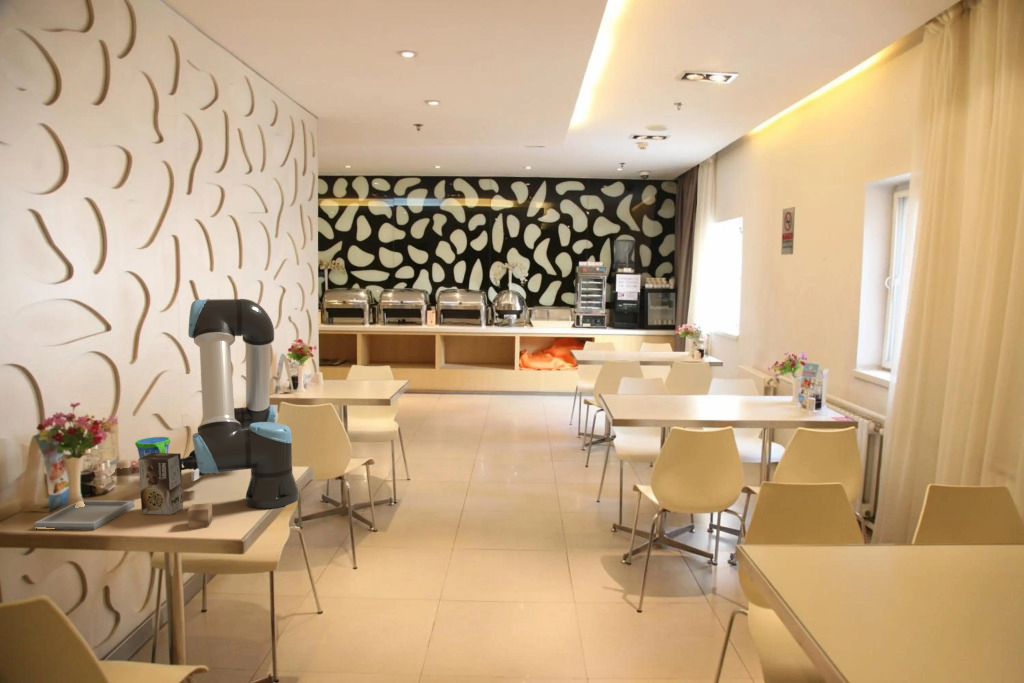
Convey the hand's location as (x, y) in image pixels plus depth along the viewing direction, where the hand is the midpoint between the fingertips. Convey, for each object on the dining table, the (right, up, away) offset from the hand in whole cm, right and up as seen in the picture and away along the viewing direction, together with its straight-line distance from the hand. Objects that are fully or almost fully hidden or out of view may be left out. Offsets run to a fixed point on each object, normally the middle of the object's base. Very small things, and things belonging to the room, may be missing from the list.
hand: (169, 476), depth 196 cm
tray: (-18, -9, -10) cm, 23 cm away
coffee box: (0, -9, -5) cm, 10 cm away
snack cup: (-25, -5, +38) cm, 45 cm away
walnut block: (+16, -10, -15) cm, 24 cm away
